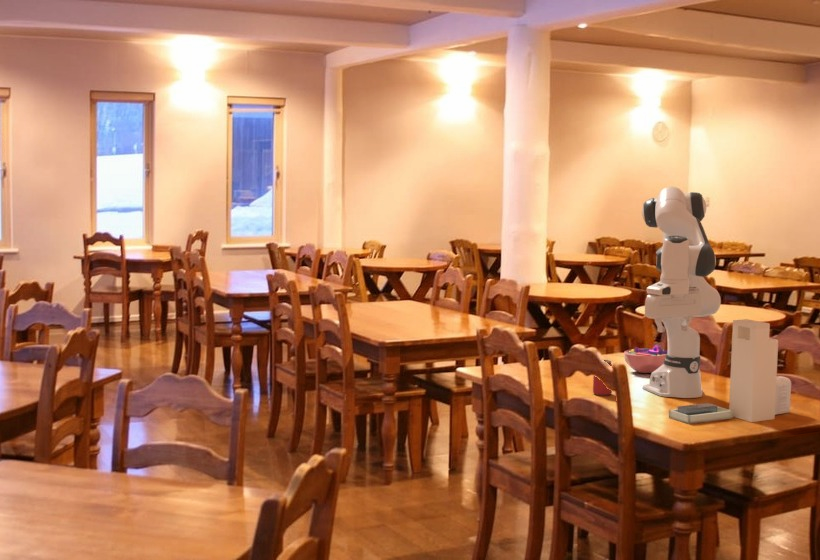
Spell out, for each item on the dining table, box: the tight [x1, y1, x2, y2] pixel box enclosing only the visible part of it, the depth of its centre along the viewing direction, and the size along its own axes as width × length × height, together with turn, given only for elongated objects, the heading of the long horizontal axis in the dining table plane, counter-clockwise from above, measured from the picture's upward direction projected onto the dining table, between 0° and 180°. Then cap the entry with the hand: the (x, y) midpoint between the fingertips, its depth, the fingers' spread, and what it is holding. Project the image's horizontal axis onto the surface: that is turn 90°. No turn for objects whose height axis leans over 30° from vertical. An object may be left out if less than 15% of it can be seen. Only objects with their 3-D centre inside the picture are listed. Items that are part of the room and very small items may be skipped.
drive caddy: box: [677, 402, 718, 415], centre depth 339 cm, size 4×13×4 cm, turn 117°
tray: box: [668, 405, 734, 425], centre depth 339 cm, size 9×18×2 cm, turn 117°
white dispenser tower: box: [728, 318, 779, 423], centre depth 340 cm, size 10×10×32 cm
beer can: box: [592, 359, 613, 397], centre depth 374 cm, size 7×7×12 cm
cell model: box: [623, 343, 668, 374], centre depth 416 cm, size 17×20×11 cm
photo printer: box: [775, 375, 792, 416], centre depth 347 cm, size 10×4×12 cm, turn 123°
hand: (672, 331), depth 331 cm, fingers open, 8 cm apart
